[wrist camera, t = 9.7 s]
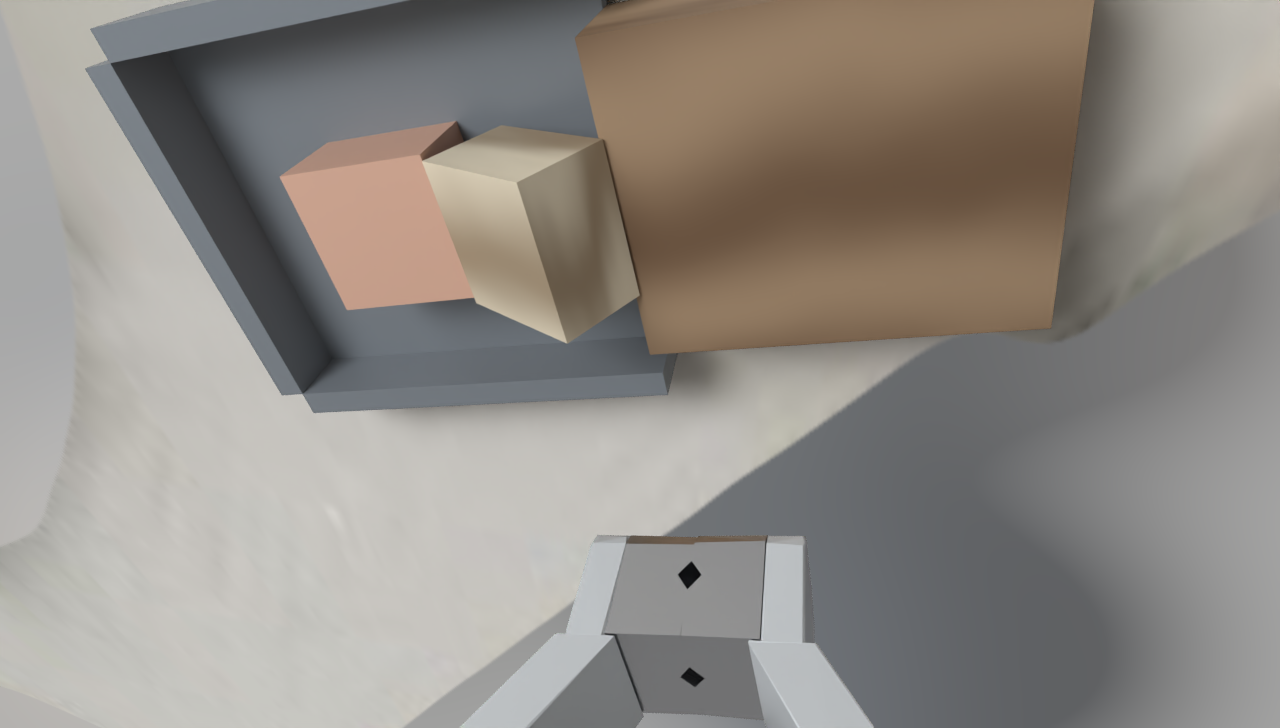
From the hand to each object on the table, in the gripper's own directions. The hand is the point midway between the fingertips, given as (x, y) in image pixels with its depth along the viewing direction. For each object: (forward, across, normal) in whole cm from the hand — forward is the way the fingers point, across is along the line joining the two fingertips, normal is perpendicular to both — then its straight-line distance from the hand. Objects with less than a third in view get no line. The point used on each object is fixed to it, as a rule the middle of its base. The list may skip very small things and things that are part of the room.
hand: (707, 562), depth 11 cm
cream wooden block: (+14, +6, 0) cm, 15 cm away
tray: (+17, +12, 0) cm, 20 cm away
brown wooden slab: (+17, -2, 0) cm, 17 cm away
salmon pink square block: (+13, +12, 0) cm, 18 cm away
